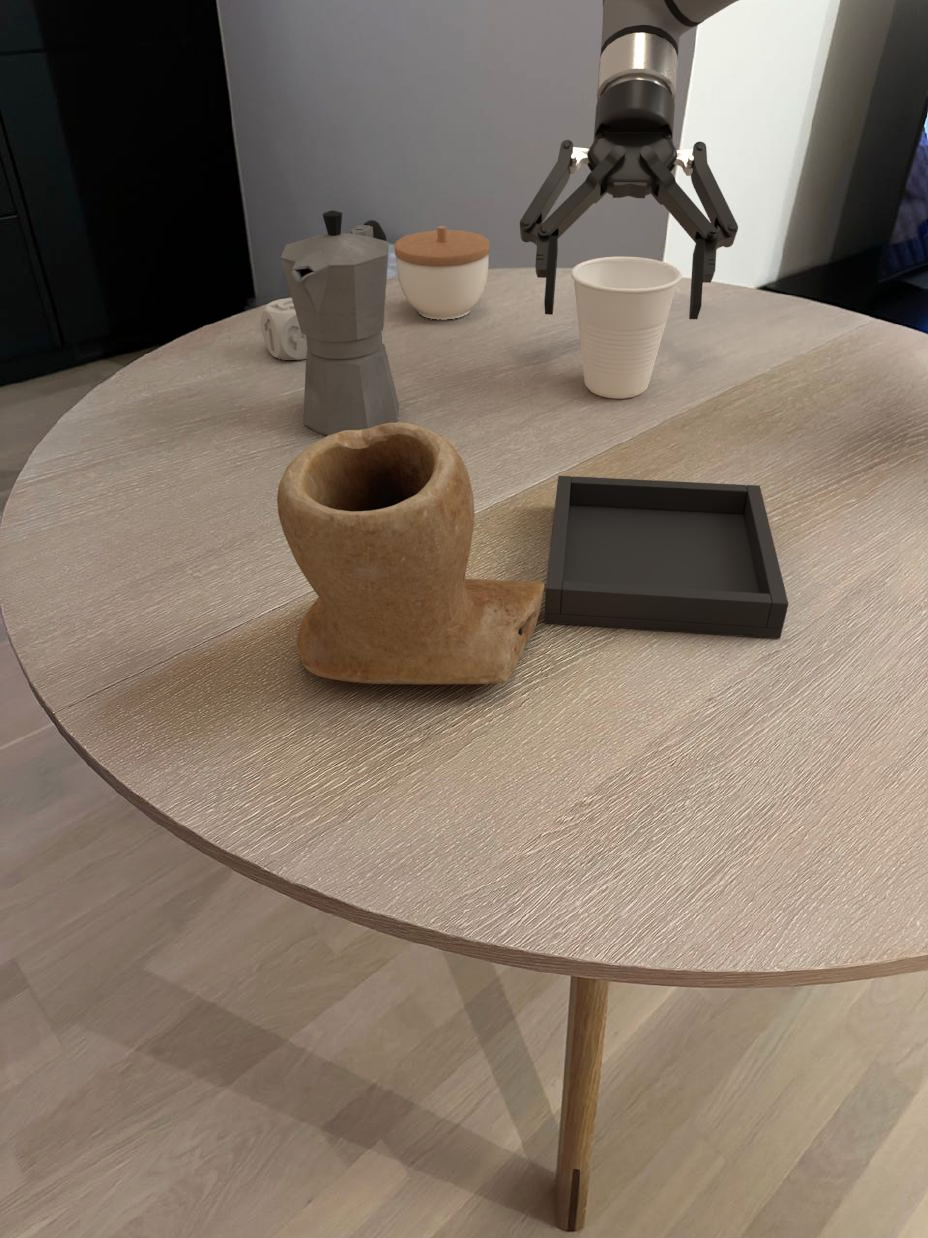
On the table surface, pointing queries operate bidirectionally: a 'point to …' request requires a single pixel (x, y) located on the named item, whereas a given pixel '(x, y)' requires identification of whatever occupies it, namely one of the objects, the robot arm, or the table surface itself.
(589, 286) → the cup
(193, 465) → the table surface
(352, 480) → the stone cup
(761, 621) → the tray
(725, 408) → the table surface
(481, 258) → the trinket box
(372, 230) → the coffeepot
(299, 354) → the die
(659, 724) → the table surface
